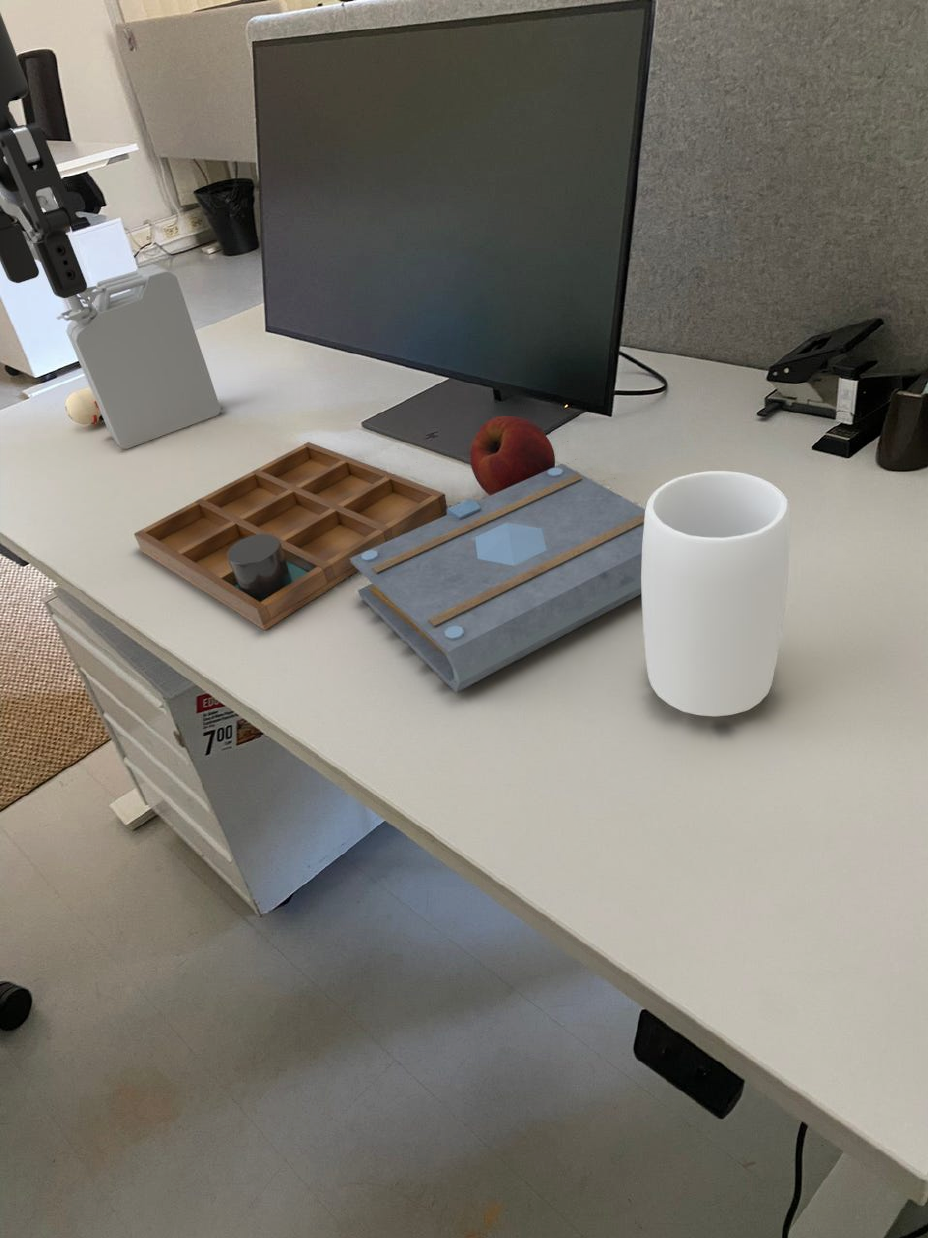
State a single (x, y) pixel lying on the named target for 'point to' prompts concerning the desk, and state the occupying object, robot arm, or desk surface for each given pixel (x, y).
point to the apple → (509, 453)
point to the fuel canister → (140, 355)
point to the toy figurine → (83, 407)
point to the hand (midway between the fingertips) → (48, 286)
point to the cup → (714, 590)
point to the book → (507, 573)
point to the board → (291, 526)
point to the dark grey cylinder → (259, 566)
